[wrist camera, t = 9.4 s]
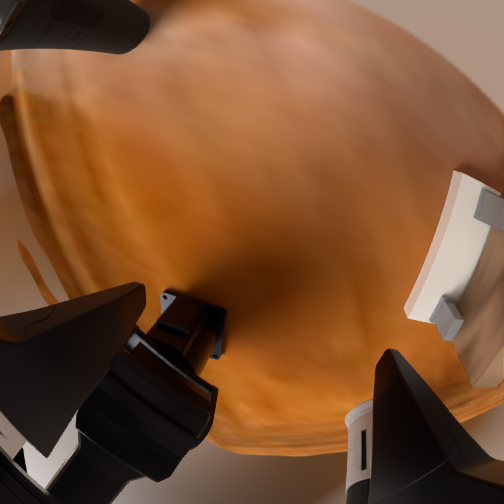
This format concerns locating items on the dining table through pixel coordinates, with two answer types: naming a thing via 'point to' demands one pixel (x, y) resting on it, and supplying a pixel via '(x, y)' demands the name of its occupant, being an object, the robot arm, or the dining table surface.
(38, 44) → the drinking cup
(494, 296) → the door
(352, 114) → the dining table surface
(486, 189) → the side panel
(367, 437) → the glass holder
